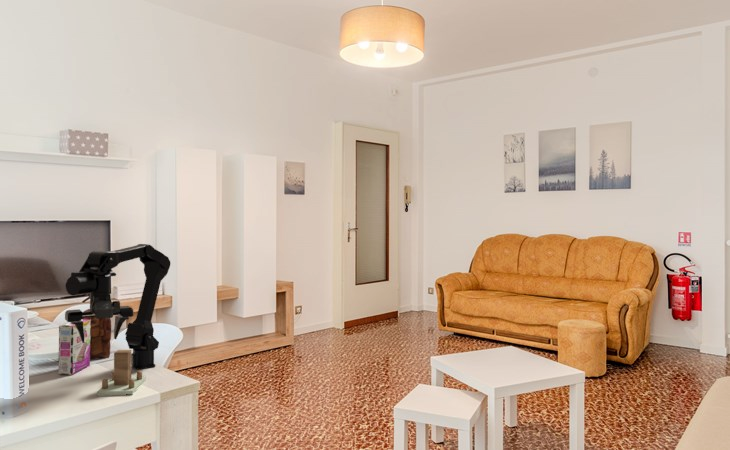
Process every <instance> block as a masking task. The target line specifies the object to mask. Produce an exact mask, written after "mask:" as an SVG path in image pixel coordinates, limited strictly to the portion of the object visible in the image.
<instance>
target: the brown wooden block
mask: <svg viewBox="0 0 730 450" xmlns="http://www.w3.org/2000/svg"><path fill="white" fill-rule="evenodd" d="M131 354H132V349H117V350H115V352H114V353H113V371H114V386H117V385H128V384H129V379H131V376H132V365H131Z"/></svg>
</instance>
